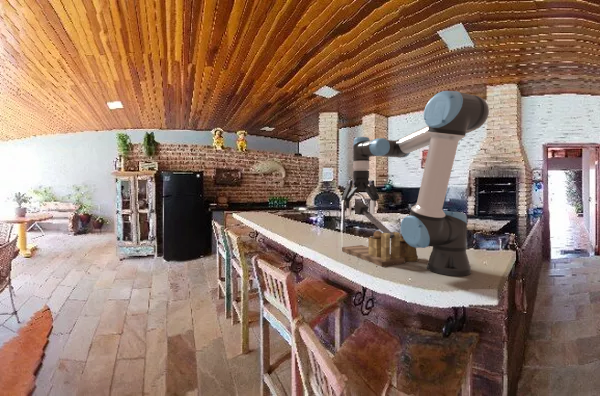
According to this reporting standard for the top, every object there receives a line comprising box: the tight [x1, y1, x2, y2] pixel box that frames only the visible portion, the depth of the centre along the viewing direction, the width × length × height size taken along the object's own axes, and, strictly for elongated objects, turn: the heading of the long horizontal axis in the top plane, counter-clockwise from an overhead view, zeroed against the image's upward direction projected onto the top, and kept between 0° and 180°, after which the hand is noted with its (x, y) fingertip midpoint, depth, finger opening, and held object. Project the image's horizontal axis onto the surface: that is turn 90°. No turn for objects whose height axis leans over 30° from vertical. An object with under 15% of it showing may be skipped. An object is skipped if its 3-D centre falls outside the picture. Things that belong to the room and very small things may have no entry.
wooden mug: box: [399, 233, 419, 263], centre depth 134 cm, size 9×14×18 cm, turn 129°
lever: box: [352, 201, 394, 239], centre depth 135 cm, size 26×4×4 cm, turn 25°
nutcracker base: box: [341, 231, 406, 267], centre depth 138 cm, size 30×12×13 cm, turn 24°
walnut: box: [372, 230, 383, 239], centre depth 133 cm, size 4×4×4 cm
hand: (360, 214), depth 144 cm, fingers open, 13 cm apart
